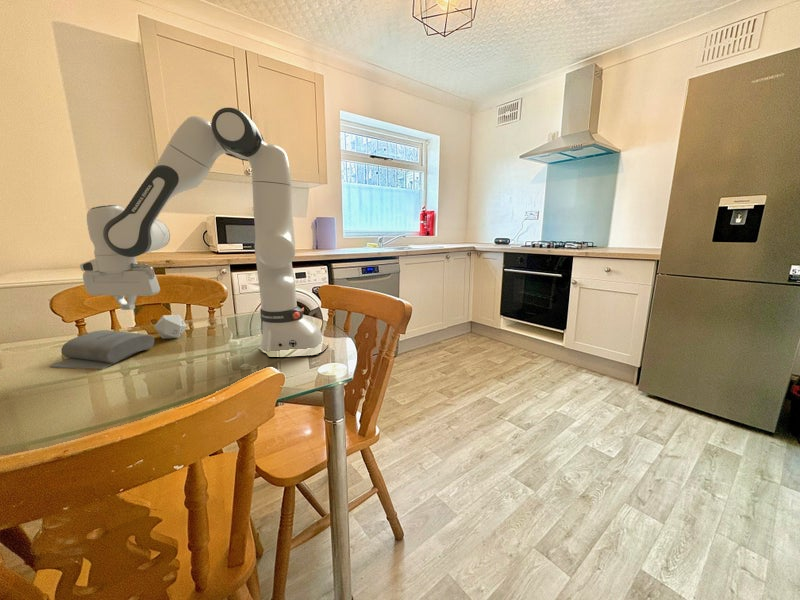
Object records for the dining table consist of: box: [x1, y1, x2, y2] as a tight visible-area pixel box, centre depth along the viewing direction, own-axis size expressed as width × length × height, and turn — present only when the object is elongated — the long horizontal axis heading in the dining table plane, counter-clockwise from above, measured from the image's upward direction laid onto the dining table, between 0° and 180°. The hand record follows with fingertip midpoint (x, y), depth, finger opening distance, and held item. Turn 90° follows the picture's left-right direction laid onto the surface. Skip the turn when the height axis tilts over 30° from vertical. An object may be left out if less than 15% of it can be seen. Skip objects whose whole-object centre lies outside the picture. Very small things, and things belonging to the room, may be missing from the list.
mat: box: [49, 351, 140, 370], centre depth 101 cm, size 16×16×1 cm
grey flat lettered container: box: [60, 329, 155, 364], centre depth 102 cm, size 15×6×20 cm
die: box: [153, 314, 188, 340], centre depth 117 cm, size 8×9×10 cm
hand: (128, 309), depth 96 cm, fingers closed
